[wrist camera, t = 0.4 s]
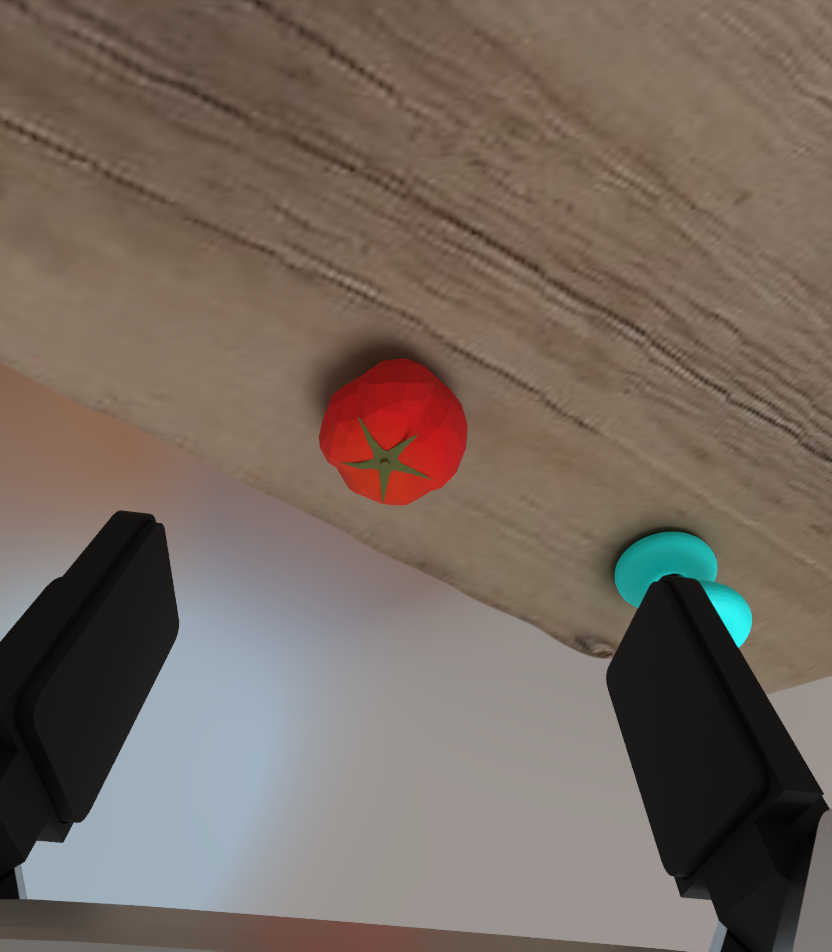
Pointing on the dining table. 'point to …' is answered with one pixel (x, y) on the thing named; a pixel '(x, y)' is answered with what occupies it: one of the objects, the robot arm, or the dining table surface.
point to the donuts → (681, 575)
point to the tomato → (394, 432)
